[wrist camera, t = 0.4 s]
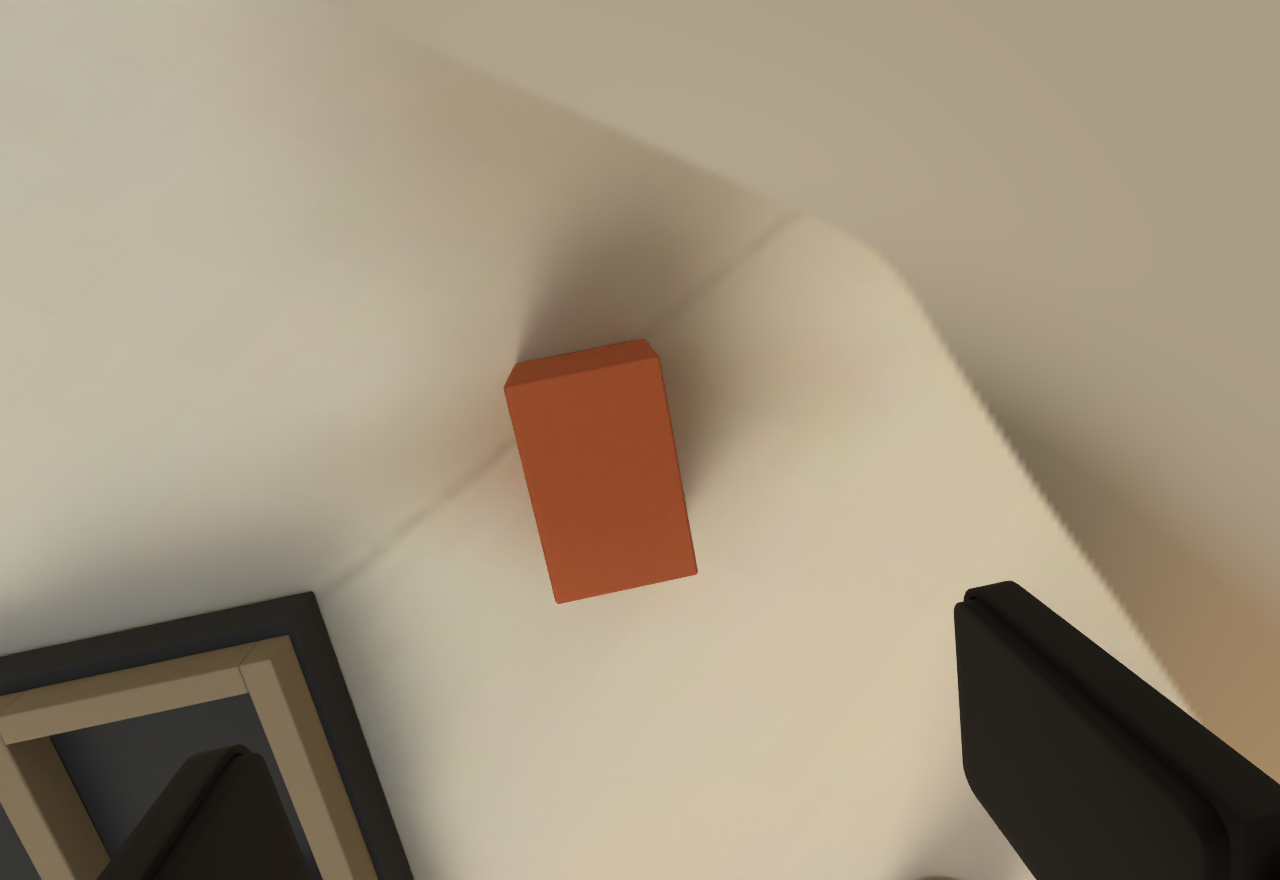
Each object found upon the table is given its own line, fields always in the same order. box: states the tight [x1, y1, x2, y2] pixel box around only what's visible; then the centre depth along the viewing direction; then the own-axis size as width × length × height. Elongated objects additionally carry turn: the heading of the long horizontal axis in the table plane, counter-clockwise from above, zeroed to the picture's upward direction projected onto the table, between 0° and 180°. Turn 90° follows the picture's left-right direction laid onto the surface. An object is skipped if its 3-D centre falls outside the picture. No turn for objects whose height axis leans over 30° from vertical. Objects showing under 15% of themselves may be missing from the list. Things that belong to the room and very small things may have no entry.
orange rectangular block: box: [504, 339, 698, 604], centre depth 23 cm, size 7×4×4 cm, turn 10°
